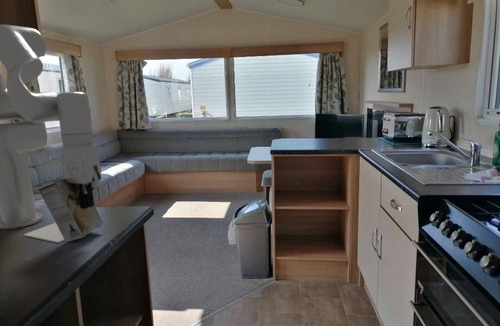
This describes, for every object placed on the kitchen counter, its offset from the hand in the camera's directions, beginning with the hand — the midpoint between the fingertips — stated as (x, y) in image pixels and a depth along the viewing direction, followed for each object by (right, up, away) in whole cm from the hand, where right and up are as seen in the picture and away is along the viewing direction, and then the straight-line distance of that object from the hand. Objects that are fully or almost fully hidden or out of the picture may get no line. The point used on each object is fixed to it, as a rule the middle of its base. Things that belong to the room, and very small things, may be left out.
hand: (87, 206), depth 99 cm
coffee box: (-2, -8, +2) cm, 8 cm away
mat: (-11, -8, +9) cm, 16 cm away
